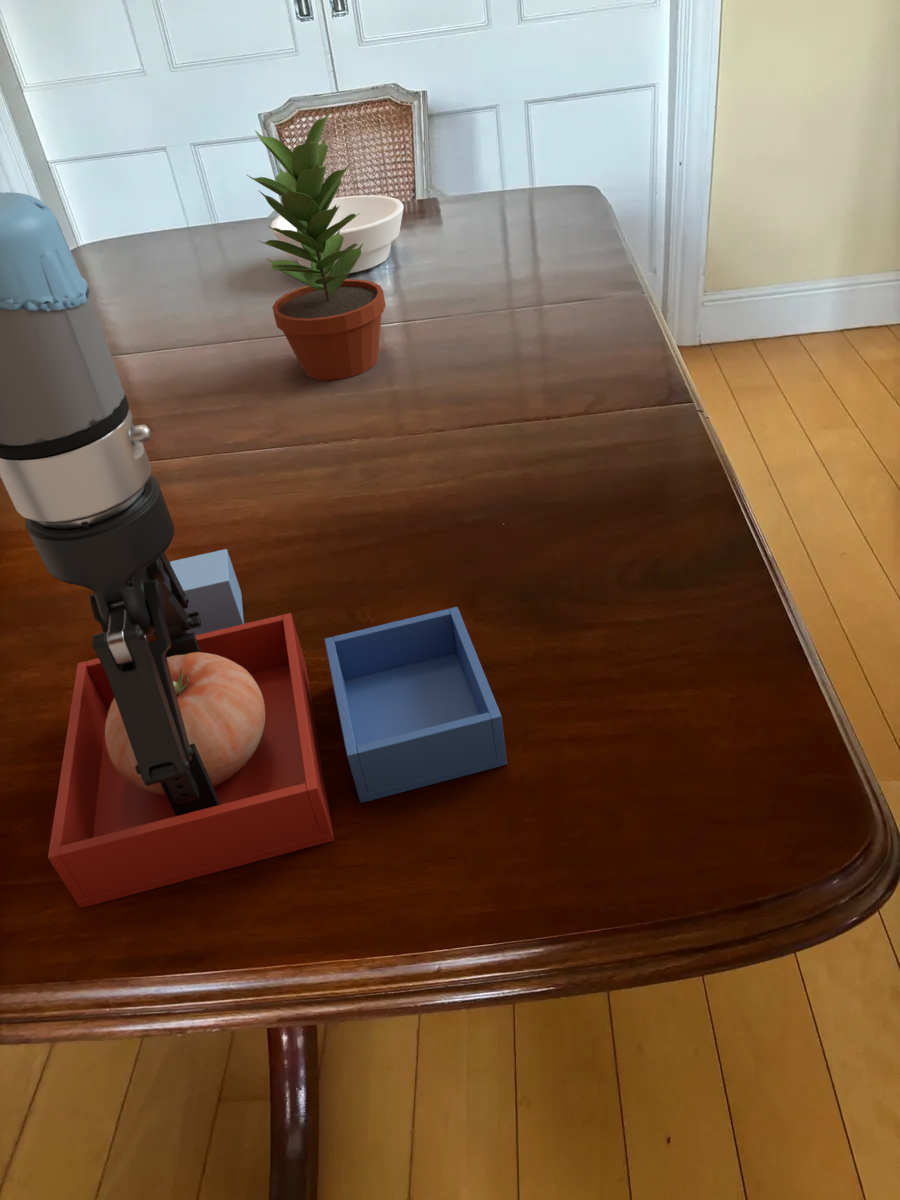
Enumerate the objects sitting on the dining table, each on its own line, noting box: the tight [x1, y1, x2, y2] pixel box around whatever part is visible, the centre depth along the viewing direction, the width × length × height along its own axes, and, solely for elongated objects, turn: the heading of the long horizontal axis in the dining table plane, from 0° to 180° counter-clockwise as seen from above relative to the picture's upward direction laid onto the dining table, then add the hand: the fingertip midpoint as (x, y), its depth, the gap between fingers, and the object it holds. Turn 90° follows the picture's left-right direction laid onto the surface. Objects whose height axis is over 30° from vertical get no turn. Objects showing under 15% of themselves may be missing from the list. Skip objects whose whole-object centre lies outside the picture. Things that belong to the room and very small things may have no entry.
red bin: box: [47, 612, 335, 909], centre depth 63 cm, size 16×18×5 cm
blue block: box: [169, 548, 245, 635], centre depth 78 cm, size 5×5×5 cm
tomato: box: [105, 652, 265, 795], centre depth 62 cm, size 11×11×8 cm
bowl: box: [270, 194, 404, 277], centre depth 152 cm, size 22×22×8 cm
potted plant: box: [246, 108, 386, 381], centre depth 111 cm, size 15×15×30 cm
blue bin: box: [324, 606, 508, 804], centre depth 65 cm, size 10×12×5 cm
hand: (202, 758), depth 64 cm, fingers closed on tomato, 11 cm apart
